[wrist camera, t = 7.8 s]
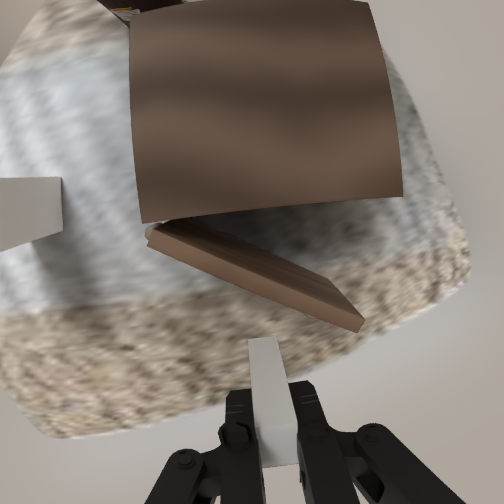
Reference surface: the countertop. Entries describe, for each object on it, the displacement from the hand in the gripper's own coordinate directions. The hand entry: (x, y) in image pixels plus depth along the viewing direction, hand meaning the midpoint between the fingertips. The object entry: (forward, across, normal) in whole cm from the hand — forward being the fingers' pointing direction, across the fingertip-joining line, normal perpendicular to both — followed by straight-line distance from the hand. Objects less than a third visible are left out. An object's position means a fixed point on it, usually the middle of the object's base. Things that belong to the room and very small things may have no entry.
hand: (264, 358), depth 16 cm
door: (+15, 0, +2) cm, 15 cm away
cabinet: (+15, +2, +15) cm, 21 cm away
